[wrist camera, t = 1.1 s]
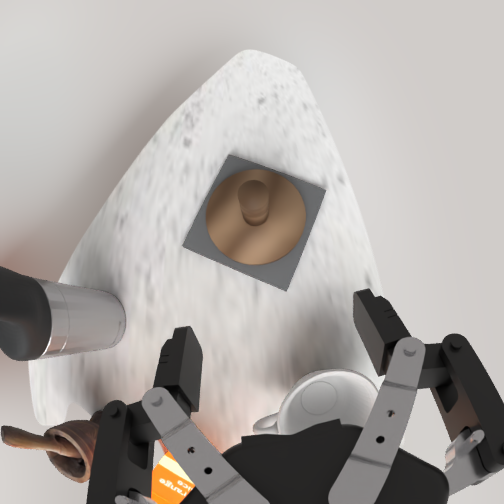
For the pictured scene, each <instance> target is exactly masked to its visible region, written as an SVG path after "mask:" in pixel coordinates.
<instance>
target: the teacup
mask: <svg viewBox="0 0 504 504" xmlns="http://www.w3.org/2000/svg"><path fill="white" fill-rule="evenodd" d="M378 393H379V392H378V390H377V388H376V386H375V385H374V384H373V382H372V381H371V380H370V379H368V378H367V377H366V376H364V375H363V374H361V373H358V372H356V371H353V370H348V369H328V370H319V371H315V372H312V373H309V374H307V375H305V376H304V377H302V378H301V379H300V380H299V381H298V382H297V383H296V384H295V385H294V386H293V387H292V389H291V391H290V392H289V393H288V395H287V396H286V397H285V399H284V401H283V402H282V404H281V407H280V409H279V412H278V413H275V414H273V415H270V416H267V417H264V418H262V419H260V420H258V421H257V422H256V423H255V424H254V426H253V432H254V434H255V435H259V434H278V433H279V434H280V435H292V434H295V433H297V432H300V431H302V430H304V429H306V428H308V427H311V426H313V425H315V424H319V423H323V422H327V421H331V420H335V419H339V418H340V421H341V424H353V425H358V426H361V427H364V426H365V424H366V422H367V419H368V417H369V415H370V412H371V410H372V408H373V405H374V403H375V400H376V398H377V395H378Z"/></svg>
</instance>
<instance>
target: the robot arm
mask: <svg viewBox="0 0 504 504" xmlns="http://www.w3.org/2000/svg"><path fill="white" fill-rule="evenodd" d="M353 318H354V323H355V326H356V329H357V331H358V333H359V335H360V337H361V339H362V341H363V343H364V346H365V348H366V350H367V352H368V354H369V357H370V359H371V361H372V363H373V366H374V368H375V370H376V372H377V375H378V377H379V376H382V375H386V376H385V379H384V382H383V383H382V385H381V387H380V390H379V393H378V395H377V398H376V400H375V403H374V405H373V408H372V410H371V412H370V415H369V417H368V419H367V422H366V424H365V426H364V427H361V426H358V425H353V424H341V421H340V418H339V419H335V420H331V421H327V422H323V423H319V424H315V425H313V426H311V427H308V428H306V429H304V430H302V431H300V432H297V433H295V434H292V435H280V434H259V435H251V436H242V437H241V440H242V443H239V444H237V445H235V446H233V447H231V448H229V449H228V450H226V451H225V452H224V453H223V454H221V453H220V452H219V451H218V450H217V449H216V448H215V447H214V446H213V445H212V444H211V443H210V441H209V440H208V439H207V438H206V437H205V436H204V435H203V433H202V432H201V431H200V430H199V429H198V428H197V426H196V425H195V424H194V423H193V422H192V420H191V419H190V416H191V412H198V411H199V397H200V384H201V372H202V361H203V354H202V349H201V346H200V344H199V342H198V340H197V338H196V336H195V334H194V332H193V330H192V328H191V327H190V326H186V327H179V328H175V330H174V333H173V338H172V339H167V341H166V342H165V344H164V345H163V347H162V349H161V354H160V358H159V364H158V367H157V371H156V376H155V380H154V385H153V388H152V389H150V390H149V391H147V392H146V393H145V395H144V396H143V399H142V400H141V401H139V402H136V403H132V404H129V405H126V404H125V403H124V402H122V401H119V400H114V401H111V402H110V403H108V404H107V405H106V406H105V407H104V409H103V411H102V415H101V420H100V424H99V429H98V434H97V439H96V444H95V449H94V454H93V460H92V466H91V472H90V479H89V486H88V494H87V503H86V504H157V503H156V502H155V501H154V500H153V499H151V496H152V472H153V456H154V442H155V440H159V439H161V440H162V442H163V443H164V445H165V446H166V448H167V449H168V451H169V452H170V453H171V455H172V456H173V458H174V459H175V460H176V462H177V463H178V464H179V466H180V467H181V468H182V470H183V471H184V472H185V474H186V475H187V476H188V477H189V479H190V480H191V481H192V482H193V484H194V485H195V486H194V488H193V489H192V490H191V491H190V492H189V493H188V494H187V495H186V497H185V498H184V499H183V500H182V501H181V502H180V503H179V504H447V501H448V497H449V496H450V495H452V494H454V493H456V492H458V491H460V490H462V489H464V488H466V487H468V486H469V485H477V484H479V483H481V482H482V481H484V480H486V479H488V478H489V477H491V476H492V475H494V474H496V473H497V472H499V471H500V470H502V469H503V468H504V403H503V401H502V399H501V397H500V395H499V393H498V391H497V390H496V388H495V386H494V384H493V382H492V380H491V379H490V377H489V375H488V373H487V372H486V370H485V368H484V366H483V365H482V363H481V361H480V359H479V358H478V356H477V355H476V353H475V351H474V350H473V348H472V346H471V345H470V343H469V342H468V341H467V339H466V338H465V337H464V336H462V335H460V334H449V335H447V336H446V337H445V338H444V339H443V341H442V343H436V344H423V343H422V341H421V340H419V339H417V338H414V337H412V336H411V335H410V333H409V332H408V330H407V329H406V327H405V326H404V324H403V322H402V321H401V319H400V318H399V316H397V313H396V311H395V310H394V309H393V307H392V305H391V304H390V302H389V301H388V300H386V299H385V298H383V297H382V296H378V297H375V296H374V295H373V293H372V292H371V290H370V289H369V288H368V289H364V290H360V291H356V292H354V295H353ZM125 326H126V319H125V313H124V309H123V307H122V305H121V303H120V302H119V300H118V299H117V298H116V297H115V296H114V295H112V294H110V293H108V292H105V291H100V290H94V289H89V288H83V287H78V286H72V285H67V284H62V283H57V282H52V281H47V280H42V279H37V278H32V277H29V276H25V275H21V274H18V273H16V272H13V271H11V270H9V269H6V268H3V267H1V266H0V348H1V350H2V351H3V352H4V353H5V354H6V355H7V356H8V357H10V358H11V359H13V360H17V361H28V360H36V359H44V358H50V357H58V356H64V355H71V354H77V353H84V352H90V351H96V350H101V349H107V348H111V347H113V346H115V345H116V344H117V343H118V342H119V341H120V340H121V338H122V336H123V334H124V331H125ZM423 388H430V390H431V392H432V394H433V397H434V399H435V401H436V404H437V406H438V408H439V411H440V413H441V416H442V418H443V421H444V423H445V426H446V429H447V431H448V434H449V437H450V440H451V442H452V443H451V444H450V445H449V447H448V448H447V451H446V454H445V458H446V466H445V469H444V471H443V472H442V471H441V470H440V469H438V468H437V467H435V466H433V465H431V464H429V463H427V462H425V461H423V460H421V459H419V458H417V457H416V456H414V455H412V454H410V453H408V452H406V451H405V450H403V449H401V448H399V446H400V443H401V440H402V438H403V435H404V432H405V429H406V426H407V423H408V420H409V417H410V414H411V411H412V407H413V404H414V401H415V397H416V394H417V389H423Z"/></svg>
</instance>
